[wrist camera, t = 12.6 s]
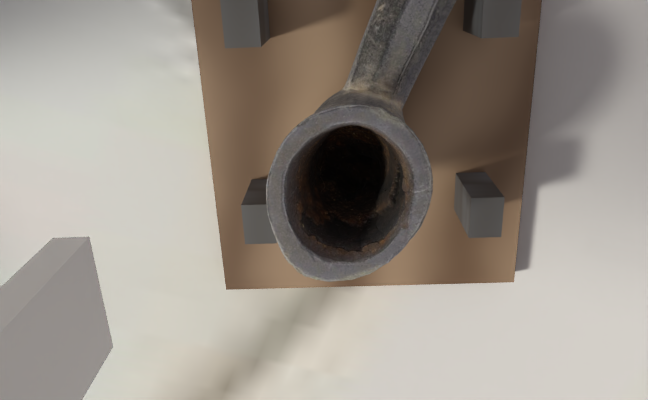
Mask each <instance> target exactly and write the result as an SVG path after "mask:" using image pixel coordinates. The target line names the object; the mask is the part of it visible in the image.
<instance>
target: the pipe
mask: <svg viewBox="0 0 648 400" xmlns="http://www.w3.org/2000/svg"><path fill="white" fill-rule="evenodd" d="M456 1H457V0H377V1H376V4H375V6H374V9H373V11H372V14H371V17H370V19H369V22H368V24H367V27H366V30H365V32H364V35H363V37H362V40H361V43H360V45H359V48H358V51H357V54H356V57H355V60H354V62H353V65H352V68H351V71H350V73H349V76H348V79H347V81H346V84H345V86H344V87H343V89H342V90H340V91H339V92H337V93H335V94H334V95H332V96H331V97H330V98H328V99H327V100H326V101H325V102H324V103H323V104H322V105H321V106H320V107H319V108H318V109H317V110H316V111H315V112H314V114H312V115H310V116H309V117H307V118H305V119H304V120H303V121H302V122H300V123H299V124H298V125H297V126H296V127H295V128H294V129H292V131H291V132H290V133H289V134H288V135H287V136H286V138H285V139H284V140H283V142H282V144H281V145H280V147H279V149H278V150H277V152H276V155H275V157H274V160H273V162H272V165H271V167H270V171H269V175H268V178H267V183H266V204H267V213H268V217H269V221H270V224H271V227H272V230H273V233H274V235H275V238H276V240H277V242H278V245H279V247H280V249H281V251H282V253H283V255H284V257H285V259H286V260H287V261H288V263H289V264H291V265H292V266H293V267H294V268H295V269H296V271H297V272H298V273H300V274H302V275H303V276H305V277H309V278H312V279H315V280H320V281H327V282H333V281H344V280H353V279H356V278H359V277H362V276H365V275H368V274H371V273H372V272H374V271H376V270H377V269H379V268H380V267H382V266H383V265H385V264H387V263H389V262H390V261H391V260H392V259H393V258H394V257H395V256H396V255H398V254H399V253H400V252H401V251H402V250H403V248H404V247H405V246H406V245H407V244H408V242H409V240H411V239H412V238H413V237H414V236H415V234H416V233H417V231H418V230H419V229H420V227H421V225H422V223H423V221H424V219H425V216H426V214H427V211H428V209H429V206H430V202H431V197H432V192H433V176H432V169H431V165H430V161H429V158H428V155H427V153H426V150H425V148H424V146H423V144H422V142H421V141H420V140H419V138H418V137H417V136H416V134H415V133H414V131H413V130H412V129H411V128H410V127H409V126H408V125H406V123H405V120H404V117H403V112H402V109H403V106H404V104H405V102H406V100H407V98H408V96H409V94H410V92H411V89H412V87H413V85H414V83H415V81H416V79H417V77H418V75H419V73H420V71H421V69H422V67H423V65H424V63H425V61H426V59H427V57H428V55H429V53H430V51H431V49H432V47H433V45H434V43H435V41H436V40H437V38H438V36H439V34H440V32H441V30H442V28H443V26H444V24H445V22H446V20H447V18H448V15H449V14H450V12H451V10H452V8H453V6H454V4H455V3H456Z"/></svg>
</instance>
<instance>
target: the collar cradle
mask: <svg viewBox="0 0 648 400" xmlns="http://www.w3.org/2000/svg"><path fill="white" fill-rule="evenodd" d="M191 1H192V10H193V18H194V26H195V34H196V43H197V51H198V59H199V68H200V76H201V84H202V92H203V101H204V109H205V117H206V126H207V134H208V142H209V150H210V159H211V167H212V175H213V184H214V192H215V200H216V208H217V217H218V225H219V233H220V242H221V250H222V258H223V266H224V275H225V283H226V289H264V288H303V287H342V286H381V285H420V284H459V283H497V282H514V275H515V264H516V254H517V244H518V234H519V224H520V214H521V204H522V194H523V184H524V174H525V164H526V154H527V144H528V134H529V123H530V113H531V103H532V93H533V83H534V73H535V63H536V53H537V43H538V33H539V23H540V13H541V3H542V0H457V1H456V3H455V4H454V6H453V8H452V10H451V12H450V14H449V15H448V18H447V20H446V22H445V24H444V26H443V28H442V30H441V32H440V34H439V36H438V38H437V40H436V41H435V43H434V45H433V47H432V49H431V51H430V53H429V55H428V57H427V59H426V61H425V63H424V65H423V67H422V69H421V71H420V73H419V75H418V77H417V79H416V81H415V83H414V85H413V87H412V89H411V92H410V94H409V96H408V98H407V100H406V102H405V104H404V106H403V109H402V112H403V117H404V120H405V123H406V125H408V126H409V127H410V128H411V129H412V130H413V131H414V133H415V134H416V136H417V137H418V138H419V140H420V141H421V142H422V144H423V146H424V148H425V150H426V153H427V155H428V158H429V161H430V165H431V169H432V176H433V192H432V197H431V202H430V206H429V209H428V211H427V214H426V216H425V219H424V221H423V223H422V225H421V227H420V229H419V230H418V231H417V233H416V234H415V236H414V237H413V238H412V239H411V240H409V242H408V244H407V245H406V246H405V247H404V248H403V250H402V251H401V252H400V253H399V254H398V255H396V256H395V257H394V258H393V259H392V260H391V261H390V262H389V263H387V264H385V265H383V266H382V267H380V268H379V269H377V270H376V271H374V272H372V273H371V274H368V275H365V276H362V277H359V278H356V279H353V280H344V281H333V282H327V281H320V280H315V279H312V278H309V277H305V276H303V275H302V274H300V273H298V272H297V271H296V269H295V268H294V267H293V266H292V265H291V264H289V263H288V261H287V260H286V259H285V257H284V255H283V253H282V251H281V249H280V247H279V245H278V242H277V240H276V238H275V235H274V233H273V230H272V227H271V224H270V221H269V217H268V213H267V204H266V183H267V178H268V175H269V171H270V167H271V165H272V162H273V160H274V157H275V155H276V152H277V150H278V149H279V147H280V145H281V144H282V142H283V140H284V139H285V138H286V136H287V135H288V134H289V133H290V132H291V131H292V129H294V128H295V127H296V126H297V125H298V124H299V123H300V122H302V121H303V120H304V119H305V118H307V117H309V116H310V115H312V114H314V112H315V111H316V110H317V109H318V108H319V107H320V106H321V105H322V104H323V103H324V102H325V101H326V100H327V99H328V98H330V97H331V96H332V95H334V94H335V93H337V92H339V91H340V90H342V89H343V87H344V86H345V84H346V81H347V79H348V76H349V73H350V71H351V68H352V65H353V62H354V60H355V57H356V54H357V51H358V48H359V45H360V43H361V40H362V37H363V35H364V32H365V30H366V27H367V24H368V22H369V19H370V17H371V14H372V11H373V9H374V6H375V4H376V1H377V0H191Z"/></svg>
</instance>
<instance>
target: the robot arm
mask: <svg viewBox="0 0 648 400" xmlns="http://www.w3.org/2000/svg"><path fill="white" fill-rule="evenodd" d="M112 348H113V344H112V339H111V335H110V330H109V326H108V321H107V316H106V312H105V307H104V303H103V298H102V293H101V289H100V284H99V280H98V275H97V270H96V266H95V261H94V257H93V252H92V247H91V243H90V238H89V237H70V238H52V239H51V240H50V241H49V242H48V243H47V244H46V245H45V246H44V247H43V248H42V249H41V250H40V251H39V252H38V253H37V254H35V255H34V256H33V257H32V258H31V259H30V260H29V261H28V262H27V263H26V264H25V265H24V266H23V267H22V268H21V269H20V270H18V271H17V272H16V273H15V274H14V275H13V276H12V277H11V278H10V279H9V280H8V281H7V282H6V283H5V284H4V285H3V286H2V287H0V400H82V399H83V397H84V395H85V394H86V392H87V390H88V389H89V387H90V385H91V384H92V382H93V380H94V378H95V377H96V375H97V373H98V372H99V370H100V368H101V366H102V365H103V363H104V361H105V360H106V358H107V356H108V355H109V353H110V351H111V349H112Z"/></svg>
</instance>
